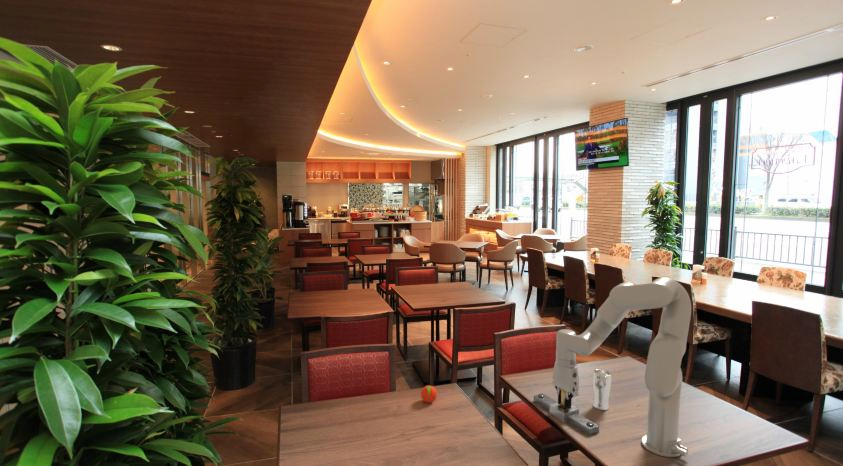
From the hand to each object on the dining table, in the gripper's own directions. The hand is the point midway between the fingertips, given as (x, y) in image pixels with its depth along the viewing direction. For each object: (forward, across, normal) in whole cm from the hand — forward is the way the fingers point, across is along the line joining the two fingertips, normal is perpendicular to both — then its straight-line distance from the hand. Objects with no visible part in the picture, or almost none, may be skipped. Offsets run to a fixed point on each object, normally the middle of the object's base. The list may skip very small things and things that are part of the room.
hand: (564, 405), depth 174 cm
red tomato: (+4, +35, +43) cm, 56 cm away
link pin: (+2, 0, 0) cm, 2 cm away
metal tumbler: (+5, -2, -19) cm, 20 cm away
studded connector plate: (+4, 0, 0) cm, 4 cm away
